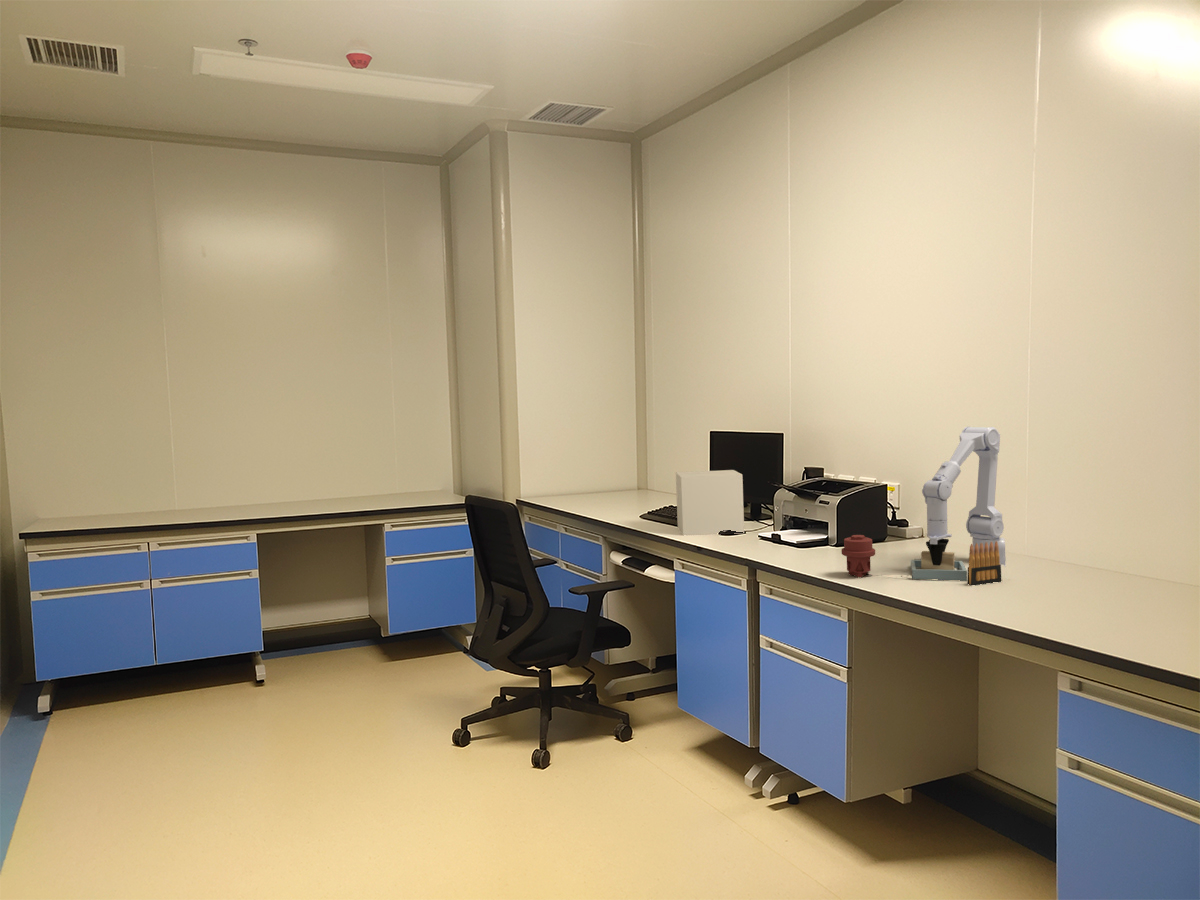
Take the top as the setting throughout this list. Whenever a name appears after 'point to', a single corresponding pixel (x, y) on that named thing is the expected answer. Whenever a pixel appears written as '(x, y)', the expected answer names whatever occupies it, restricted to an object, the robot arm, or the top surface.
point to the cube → (709, 502)
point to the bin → (939, 572)
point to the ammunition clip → (984, 564)
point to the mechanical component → (858, 554)
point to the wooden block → (946, 561)
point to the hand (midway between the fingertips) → (937, 563)
